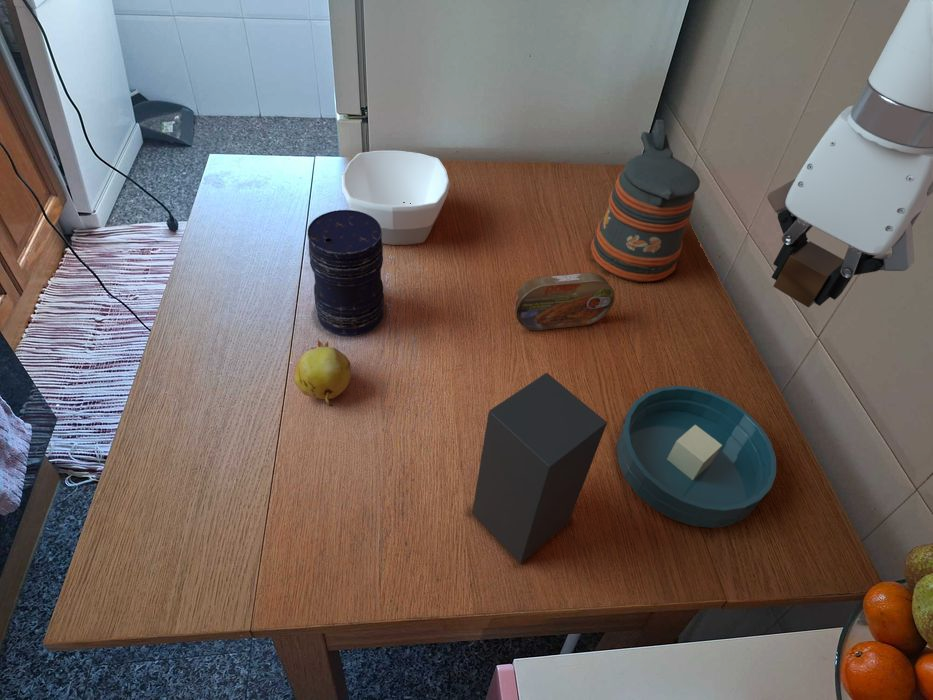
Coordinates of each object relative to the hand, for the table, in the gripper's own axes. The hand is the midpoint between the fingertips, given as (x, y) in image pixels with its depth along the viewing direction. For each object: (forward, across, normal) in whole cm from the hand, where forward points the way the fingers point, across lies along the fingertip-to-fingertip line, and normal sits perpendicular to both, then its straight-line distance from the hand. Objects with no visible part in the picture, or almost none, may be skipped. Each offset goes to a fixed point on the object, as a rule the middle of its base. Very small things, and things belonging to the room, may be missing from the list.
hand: (802, 284), depth 65 cm
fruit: (+27, +38, +34) cm, 58 cm away
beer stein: (+27, +33, -24) cm, 49 cm away
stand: (+27, +8, +28) cm, 39 cm away
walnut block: (+1, 0, 0) cm, 1 cm away
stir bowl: (+27, 0, +6) cm, 27 cm away
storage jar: (+27, +48, +24) cm, 60 cm away
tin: (+27, +28, 0) cm, 39 cm away
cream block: (+26, 0, +6) cm, 27 cm away
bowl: (+27, +62, +4) cm, 68 cm away
